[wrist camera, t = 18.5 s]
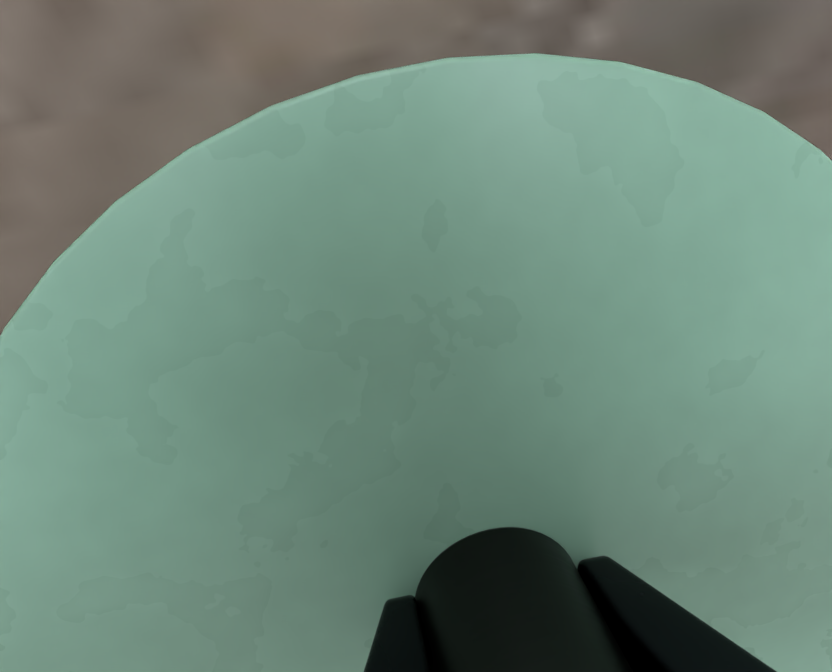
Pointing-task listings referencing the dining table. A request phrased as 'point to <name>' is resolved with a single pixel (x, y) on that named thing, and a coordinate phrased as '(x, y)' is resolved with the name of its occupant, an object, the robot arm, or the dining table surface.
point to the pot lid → (431, 383)
